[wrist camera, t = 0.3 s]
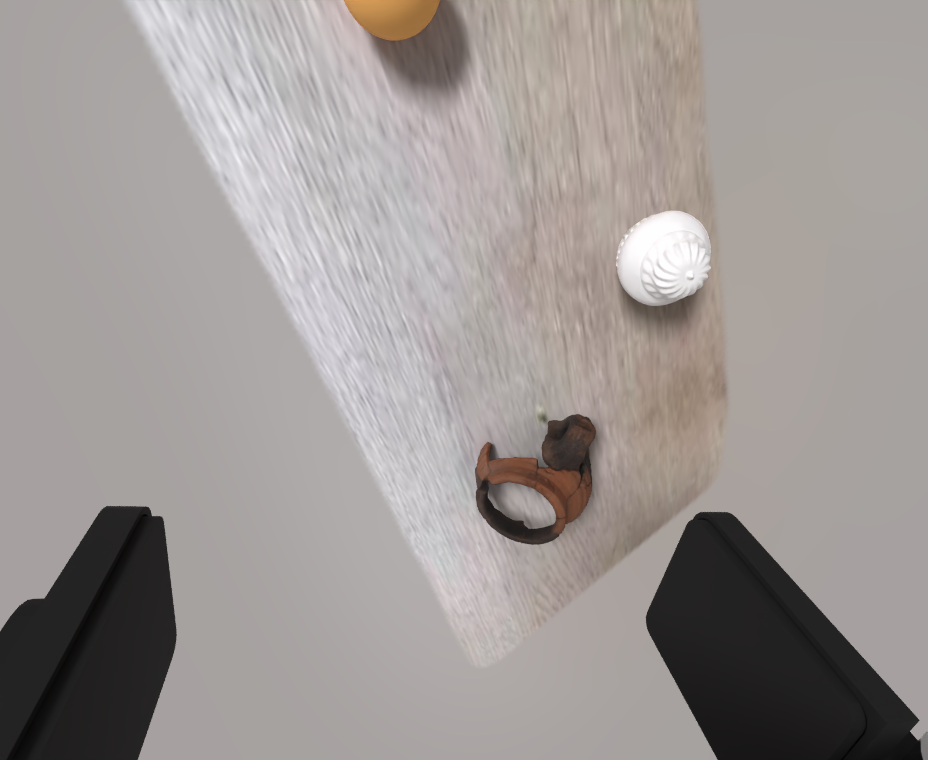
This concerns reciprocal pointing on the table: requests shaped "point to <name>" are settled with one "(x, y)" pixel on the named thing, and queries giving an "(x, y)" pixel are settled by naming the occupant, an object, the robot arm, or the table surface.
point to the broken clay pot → (542, 479)
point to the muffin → (664, 258)
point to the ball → (393, 16)
